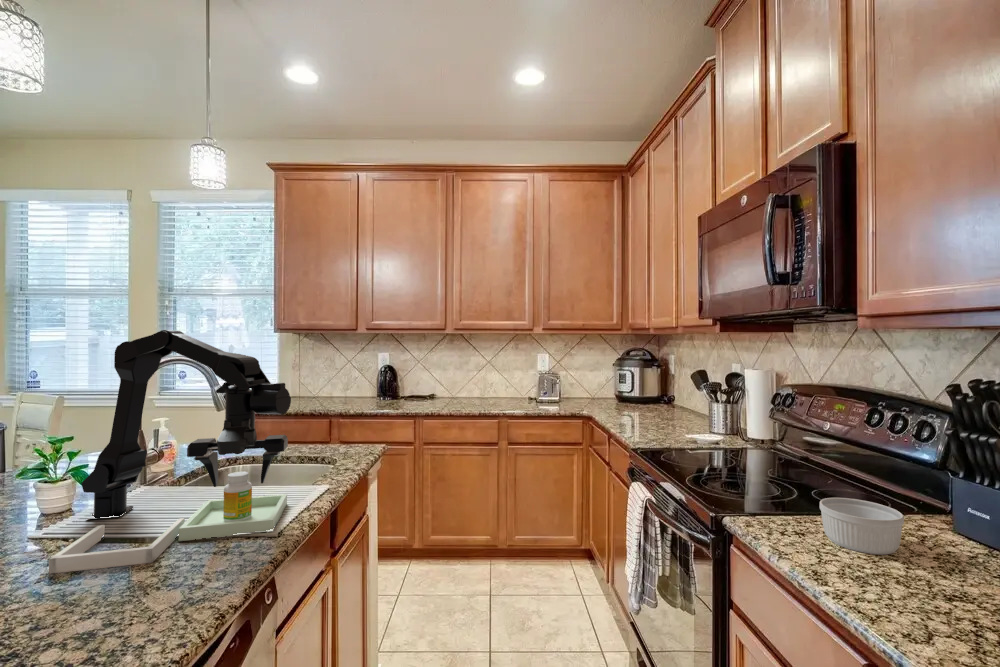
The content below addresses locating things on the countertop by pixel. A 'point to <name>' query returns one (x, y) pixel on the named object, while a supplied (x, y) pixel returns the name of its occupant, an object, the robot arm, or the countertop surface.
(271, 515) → the tray
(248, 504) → the supplement bottle
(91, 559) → the bay
